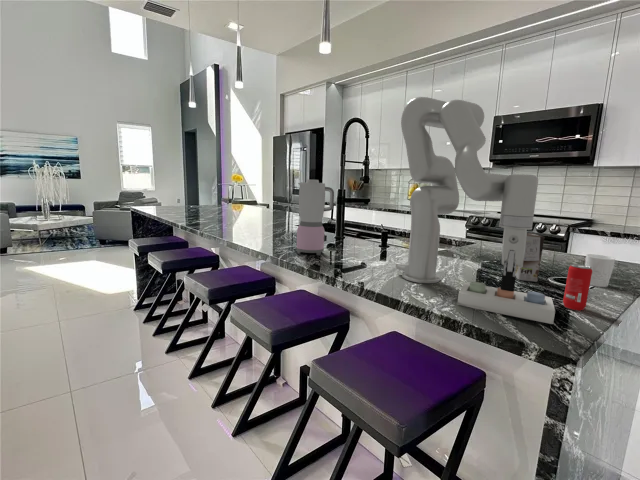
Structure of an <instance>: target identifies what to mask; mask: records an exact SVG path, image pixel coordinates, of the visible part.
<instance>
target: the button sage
mask: <svg viewBox="0 0 640 480" xmlns="http://www.w3.org/2000/svg"><path fill="white" fill-rule="evenodd" d="M469 283H470V288H469V291H471V292H476V293H481V294H485V287H486V286H487V285H486V284H485V283H483V282H478V281H470V282H469Z"/></svg>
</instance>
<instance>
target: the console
mask: <svg viewBox="0 0 640 480" xmlns="http://www.w3.org/2000/svg"><path fill="white" fill-rule="evenodd" d="M469 288H470V282H464V283H463V285H462V286H461V288H460V289H459V291H458V295H457V296H458V297H457V304H456V305H457V306H463V307H466V308H472V309H476V310H481V311H486V312H491V313H495V314H501V315H506V316H510V317H515V318H520V319H524V320H530V321H534V322H535V321H536V322H540V323H545V324H548V325H549V324H550V325H553V324H554V323H555V322H554V321H555V320H554V319H555V314H556V307H555V306H554V302H553V299H552V297H550V296H546V295H545V300H544V305H542V304H536V303H531V302H526V297H527V292H522V291H516V290H514V296H513V299H509V298H503V297H498V296H497V289H498V287H493V286H487V285H486V287H485V294H481V293H476V292H471V291H469Z"/></svg>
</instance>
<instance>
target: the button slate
mask: <svg viewBox="0 0 640 480" xmlns="http://www.w3.org/2000/svg"><path fill="white" fill-rule="evenodd" d="M526 293H527V297H526V302H531V303H536V304H542V305H544V300H545V296H546V294H544V293H542V292H537V291H527V292H526Z"/></svg>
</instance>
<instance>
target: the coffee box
mask: <svg viewBox="0 0 640 480" xmlns="http://www.w3.org/2000/svg"><path fill="white" fill-rule="evenodd" d="M544 241H545V236H542V235H539V234H536V233H531V232H530V233H529V232H527V237H526V246H525V254H524V261H523V267H522V268H520V266H517V264H516V272H515V276H516V279H518V281H527V282H535V283H536V282H538V279H539V273H540V268H541V262H542V254H543V249H544V243H545V242H544Z"/></svg>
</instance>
